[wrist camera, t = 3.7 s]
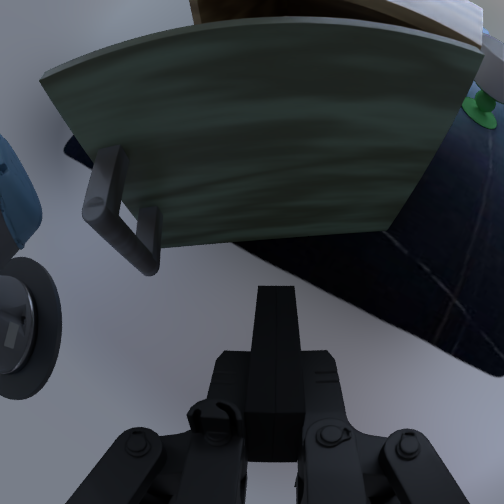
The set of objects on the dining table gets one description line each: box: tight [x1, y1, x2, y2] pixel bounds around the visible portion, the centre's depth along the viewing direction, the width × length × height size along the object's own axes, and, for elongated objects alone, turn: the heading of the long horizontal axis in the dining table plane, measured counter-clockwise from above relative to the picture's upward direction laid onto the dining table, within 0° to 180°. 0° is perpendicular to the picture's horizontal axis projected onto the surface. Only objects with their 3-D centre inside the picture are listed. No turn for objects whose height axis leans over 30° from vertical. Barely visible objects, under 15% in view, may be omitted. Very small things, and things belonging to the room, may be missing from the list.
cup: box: [462, 33, 504, 129], centre depth 34 cm, size 14×14×16 cm
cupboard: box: [189, 0, 483, 50], centre depth 28 cm, size 18×26×24 cm
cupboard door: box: [39, 16, 485, 276], centre depth 21 cm, size 7×26×24 cm, turn 93°
